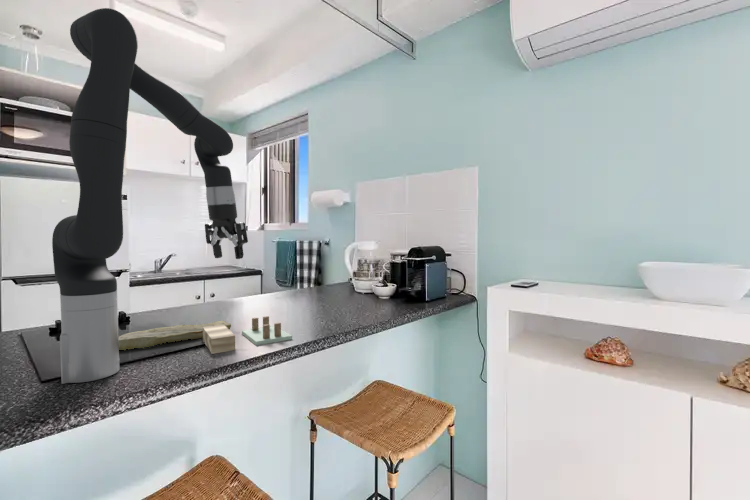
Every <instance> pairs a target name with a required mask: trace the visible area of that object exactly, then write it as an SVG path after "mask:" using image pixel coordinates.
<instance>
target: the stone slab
mask: <svg viewBox="0 0 750 500" xmlns="http://www.w3.org/2000/svg"><path fill="white" fill-rule="evenodd" d="M223 324H224V325H225V326H226V327H227V328H228V329H229V330H231V327H232V324H231V323H230V322H226V320H218V321H213V322H210V323H202V324H178V325H171V326H165V327H155V328H150V329H145V330H139V331H137V330H136V331H132V332H128V333H127V332H126V333H123V334H122V335H118V337H119V350H124V351H127V350H126V349H128V350H133V349H134V348H143V347H149V346H153V345H157V344H160V345H162V344H161V343H164V344H167V343H166V342H168V343H172V342H173V343H175V341H176V342H182V341H189V340H188V339H191V340H196V339H203V327H207V326H215V325H223ZM181 340H182V341H181ZM157 346H158V345H157ZM153 347H154V346H153ZM149 348H150V347H149ZM143 349H144V348H143ZM134 350H135V349H134Z"/></svg>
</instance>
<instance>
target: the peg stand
mask: <svg viewBox="0 0 750 500" xmlns="http://www.w3.org/2000/svg"><path fill="white" fill-rule="evenodd" d="M241 334H242V335H243V337H245V338H246V339H248V340H249V341H250V343H253V345H255V346H260V345H266V344H267V345H268V344H272V343H278V342H284V341H289V340H293V335H292V334H290V333H288V332H286V331H285V330H283V329H282V323H281V322H274V325H270V316H265V315H264V316H262V327H259V317H252V318H251V328H250V329H242V330H241Z"/></svg>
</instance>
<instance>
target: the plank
mask: <svg viewBox="0 0 750 500" xmlns="http://www.w3.org/2000/svg"><path fill="white" fill-rule="evenodd" d="M202 341H203V343H204V342H205V343H204V344H205V346H206V347H207V349H208V350H209V352H210V354H212V355H213V354H219V353H225V352H230V351H236V335H235V334H234V333H233V332H232V331H231V329H228V328H227V327H226V326H225V325H224V324H223V325H215V326H207V327H203V338H202Z"/></svg>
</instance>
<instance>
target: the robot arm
mask: <svg viewBox="0 0 750 500" xmlns="http://www.w3.org/2000/svg"><path fill="white" fill-rule="evenodd" d="M69 33H70V38H71V41H72V43H73V45H74V46H75V48H76V49H77V51H79V52H80V54H82V55H83V56H84V57H85V58H86V59H87V60H89V61H90V67H89V73H88V75H87V78H86V80H85V83H84V84H83V86H82V89H81V91H80V93H79V95H78V97H77V99H76V102H75V105H74V107H73V110H72V113H71V118H70V128H69V129H70V131H69V144H68V145H69V152H70V155H71V160H72V163H73V166H74V168H75V170H76V174H77V178H78V182H79V199H78V207H77V212H76V214H75V215H70V216H67V217H64V218H63V219H61V220H60V221H59V222H58V223H57V224H56V225H55V227H54V230H53V232H52V236H51V237H52V241H51V245H52V246H51V247H52V248H51V249H52V256H53V258H52V259H53V271H54V278H55V280H56V282H57V284H58V286H59V295H60V296H59V297H60V299H59V300H60V323H61V326H60V327H61V328H60V329H61V333H60V336H59V348H60V349H59V354H60V375H61V376H60V377H61V384H63V385H64V384H70V383H71V384H72V383H73V384H74V383H75V384H79V383H85V382H86V383H87V382H93V381H99V380H102V379H104V378H108V377H110V376H112V375H115V374H117V373H119V371H120V351H119V312H118V310H119V309H118V308H119V306H118V282H117V278H116V277H115V275H113V274H112V273H111V272H110V270H109V268H108V265H107V264H108V263H107V259H109V258H111V257H112V256H114V255H116V253H117V252H118V251H119V249H121V246H122V244H123V239H124V223H123V222H124V221H123V220H124V219H123V218H124V216H123V199H122V196H123V182H124V181H123V180H124V169H125V168H124V165H125V155H126V147H127V136H128V116H129V106H130V105H129V104H130V94H131V93H130V90H131V91H133V92H134V93H135V94H136V95H138V96H139V97H141V98H142V99H143V100H144V101H146V102H147V103H148V104H150V105H151V106H152V107H153V108H155V109H156V110H157V111H158V112H159V113H161V114H162V116H164V117H165V118H166V119H167V120H168V121H169V122H170V123H172V124H173V125H174V126H175V127H176V128H177V129H178V130H179V131H180V132H182V133H183V134H185V135H187V136H192V137H193V136H194V137H195V138H194V142H193V143H194V144H193V146H194V151H195V154H196V157H197V160H198V162H199V164H200V167H201V169H202V171H203V174H204V182H205V183H204V184H205V190H206V193H205V195H206V196H205V197H206V203H207V204H206V205H207V210H208V216H209V220H210V221H212V222H210V223H205V224H204V231H205V240H206V244H208V245H211V247H212V250H213V251H212V252H213V256H214V258H215V259H220V258H222V257H223V251H222V245H221V243H222V240H223V239H228V240H229V241H231V242H232V244H233V247H234V248H233V249H234V254H235V255H234V256H235V257H234V258H235V259H236V260H240V259H241V260H242V259H243V258H244V248H243V245H244V244H247V243H248V242H249V239H248V234H247V226H246V222H243V221H242V222H237V221H236V219H237V218H238V212H237V211H238V209H237V205H236V197H235V196H236V195H235V191H234V187H233V180H232V178H233V177H232V173H231V169H230V168H229V167H228V166H226V165H223V164H221V162H220V159H219V157H224V156H228V155H230V153H232V151H233V150H234V142H233V139H232V137H231V136H230V134H229V133H228V131H227V130H226V129H224V128H223V127H222V126H221V125H219V124H218V123H216V122H214V120H212V119H211V118H209V117H207V116H206V115H204V114H202V113H201V112H200V110H198V108H197V107H196V106H194V104H192V102H190V100H188V98H186V97H185V96H184V95H183V94H182V93H181V92H179V91H178V90H177V89H175V88H173V87H172V86H170V85H169V84H167V83H165V82H163V81H162V80H160V79H159V78H157V77H155V76H153V75H151V74H150V73H149V72H148V71H146V70H145V69H143V68H142V67H141V66H140V65H138V64H137V63H136V59H137V54H138V48H139V45H138V43H139V41H138V36H137V33H136V30H135V28H134V25H133V24H132V23H131V21H130V20H129V18H127V17H126V16H125V14H123V13H122V12H120V11H118V10H116V9H113V8H110V7H109V8H108V7H105V8H103V7H102V8H97V9H95V10H92V11H90V12H88V13H86V14H84V15H83V16H80V17H79V18H78V17H77V19H75V20H73V22H72V23H71V24H70V28H69Z"/></svg>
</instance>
